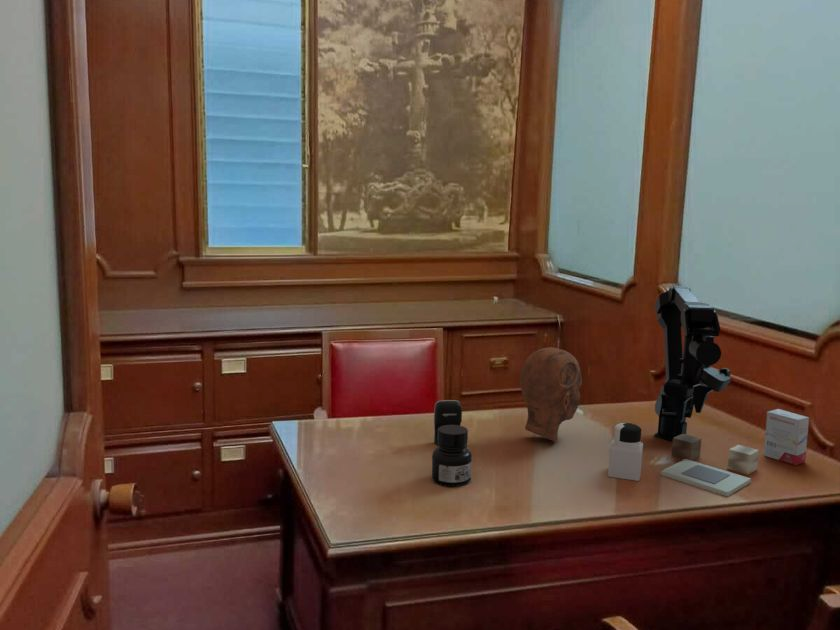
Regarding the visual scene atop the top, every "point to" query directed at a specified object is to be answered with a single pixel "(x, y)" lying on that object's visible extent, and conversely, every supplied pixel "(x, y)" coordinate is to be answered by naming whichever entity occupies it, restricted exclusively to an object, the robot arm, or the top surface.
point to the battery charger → (446, 415)
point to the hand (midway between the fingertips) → (689, 416)
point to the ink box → (786, 436)
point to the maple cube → (743, 459)
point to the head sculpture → (550, 390)
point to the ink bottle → (452, 456)
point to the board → (706, 477)
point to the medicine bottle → (626, 452)
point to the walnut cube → (686, 447)
